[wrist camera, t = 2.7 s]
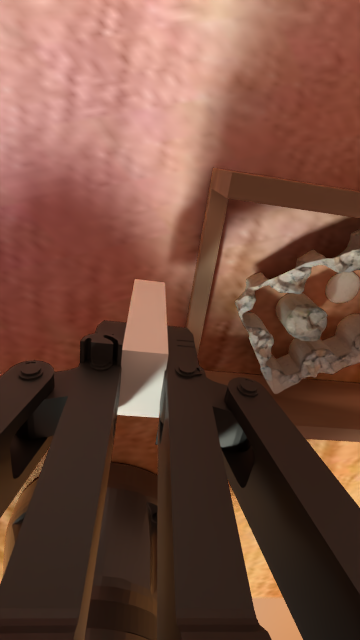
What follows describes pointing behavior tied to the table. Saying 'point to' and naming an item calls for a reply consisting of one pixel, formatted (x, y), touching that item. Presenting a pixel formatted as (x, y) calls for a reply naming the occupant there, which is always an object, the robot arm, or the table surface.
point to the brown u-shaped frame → (297, 400)
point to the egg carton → (306, 319)
